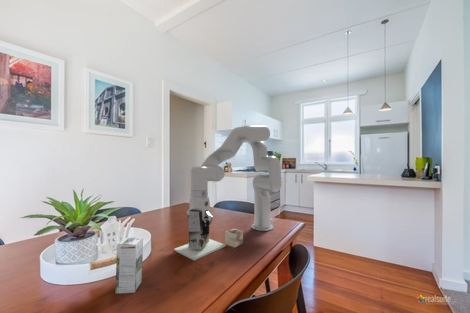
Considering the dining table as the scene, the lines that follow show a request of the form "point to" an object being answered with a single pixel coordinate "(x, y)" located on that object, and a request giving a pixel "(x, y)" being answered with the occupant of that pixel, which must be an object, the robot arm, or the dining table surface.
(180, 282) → the dining table surface
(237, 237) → the birch cube
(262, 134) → the robot arm
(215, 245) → the sage mat
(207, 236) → the coffee box
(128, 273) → the syrup box
